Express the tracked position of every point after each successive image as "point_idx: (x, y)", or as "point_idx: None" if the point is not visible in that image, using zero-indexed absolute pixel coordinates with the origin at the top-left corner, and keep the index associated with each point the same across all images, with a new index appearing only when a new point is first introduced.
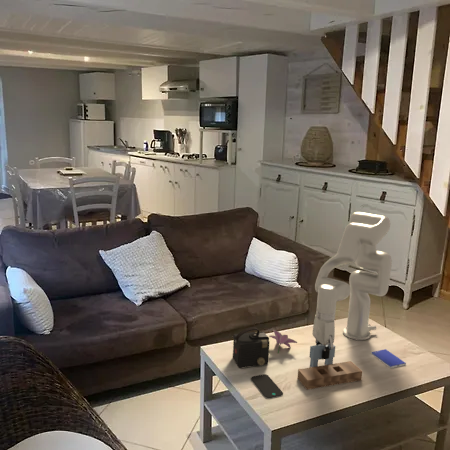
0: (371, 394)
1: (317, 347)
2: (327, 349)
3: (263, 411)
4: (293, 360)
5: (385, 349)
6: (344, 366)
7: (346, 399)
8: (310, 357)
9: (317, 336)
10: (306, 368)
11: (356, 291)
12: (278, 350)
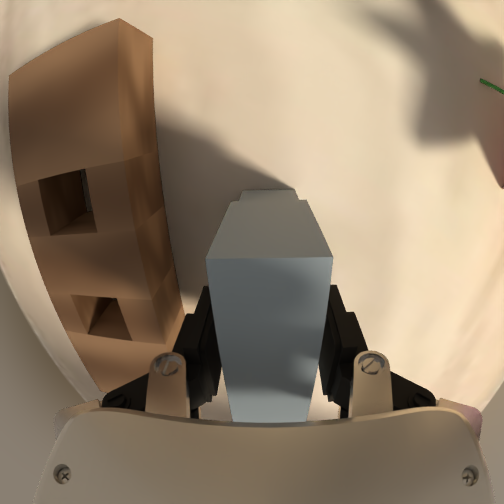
0: (43, 330)
1: (254, 331)
2: (121, 388)
3: None
4: (393, 111)
5: None
6: (130, 360)
7: (3, 234)
8: (285, 202)
9: (275, 497)
10: (113, 87)
11: None
12: (494, 85)
